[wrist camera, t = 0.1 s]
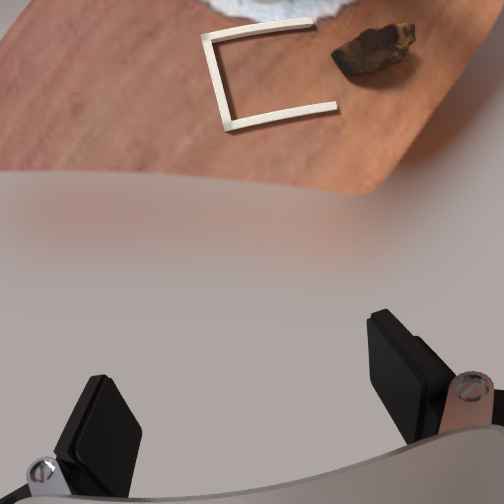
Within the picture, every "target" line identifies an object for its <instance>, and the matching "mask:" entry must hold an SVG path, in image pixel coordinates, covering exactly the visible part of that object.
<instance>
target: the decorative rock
mask: <svg viewBox="0 0 504 504" xmlns="http://www.w3.org/2000/svg"><path fill="white" fill-rule="evenodd" d="M415 41H416V38H415V25H414V24H413V23H400V24H396V23H392V24H389V25H387V26H385V27H383V28H380V29H379V28H369V29H367V30H365V31H363V32H362V33H360V35H359V36H358V37H356V38H354V39H353V40H352V41H349V42H347V43H346V44H344V45H342V46H341V47H339V48H337V49H336V50H334V51H333V52H332V53H331V56H332V58H333V59H334V61H335V63H336V64H337V65H338V66H339V67H340V69H341V71H342V72H343V74H344V75H360V74H366V73H368V74H369V73H373V72H375V71H380V70H384V69H386V68H388V67H390V66H392V65H395V64H398V63H400V62H403V61H405V60H407V56H408V48H409V46H410V45H411V44H412V43H413V42H415Z"/></svg>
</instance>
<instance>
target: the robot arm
mask: <svg viewBox="0 0 504 504" xmlns="http://www.w3.org/2000/svg"><path fill="white" fill-rule="evenodd" d="M367 334H368V350H369V368H370V380H371V383H372V385H373V387H374V389H375V391H376V392H377V394H378V396H379V397H380V399H381V401H382V402H383V404H384V406H385V407H386V409H387V411H388V412H389V414H390V416H391V417H392V419H393V421H394V423H395V424H396V426H397V428H398V430H399V431H400V433H401V435H402V437H403V438H404V440H405V442H406V444H407V446H404V447H401V448H399V449H396V450H393V451H391V452H388V453H385V454H383V455H380V456H377V457H374V458H371V459H369V460H366V461H362V462H359V463H356V464H353V465H350V466H347V467H343V468H340V469H337V470H334V471H330V472H327V473H323V474H319V475H316V476H311V477H308V478H303V479H300V480H295V481H291V482H286V483H281V484H276V485H271V486H266V487H260V488H255V489H249V490H242V491H235V492H228V493H220V494H210V495H200V496H187V497H167V498H128V496H129V491H130V486H131V481H132V477H133V473H134V468H135V463H136V459H137V455H138V450H139V446H140V441H141V438H142V429H141V427H140V425H139V423H138V422H137V420H136V419H135V417H134V415H133V414H132V412H131V411H130V409H129V407H128V405H127V404H126V402H125V400H124V399H123V397H122V396H121V394H120V392H119V390H118V388H117V387H116V385H115V383H114V381H113V380H112V379H111V378H108V376H106V375H97V376H91V377H90V379H89V381H88V382H87V384H86V386H85V388H84V390H83V392H82V394H81V396H80V398H79V400H78V402H77V404H76V406H75V408H74V410H73V412H72V414H71V416H70V418H69V420H68V422H67V424H66V426H65V428H64V430H63V432H62V434H61V436H60V439H59V441H58V443H57V445H56V447H55V449H54V451H53V452H54V453H55V454H56V455H57V457H56V459H54V458H52V457H42V458H39V459H37V460H36V461H34V462H33V463H32V464H31V465H30V467H29V468H28V470H27V474H26V475H27V482H28V483H27V484H25V485H24V486H22V487H20V488H19V489H17V490H15V491H14V492H12V493H10V494H8V495H7V496H5V497H3V498H1V499H0V504H504V390H497V389H494V384H493V382H492V380H491V379H490V378H489V377H488V376H487V375H485V374H483V373H481V372H475V371H472V372H465V373H461V374H459V375H458V376H456V375H455V373H453V371H452V370H451V369H450V368H449V367H448V366H447V365H446V364H445V363H444V362H443V361H442V360H441V359H440V358H439V356H438V355H437V354H436V353H435V352H434V351H433V350H432V349H431V348H430V347H429V346H428V345H427V344H426V343H425V342H424V341H423V340H422V339H421V338H420V337H419V336H413V335H412V334H411V333H410V332H409V331H408V330H407V329H406V328H405V327H404V326H403V324H402V323H401V322H400V321H399V320H398V319H397V318H396V317H395V316H394V315H393V314H392V313H391V312H390V311H389V310H388V309H383V310H380V311H377V312H374V313H372V314H371V318H369V319H367Z"/></svg>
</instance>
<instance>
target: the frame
mask: <svg viewBox="0 0 504 504" xmlns="http://www.w3.org/2000/svg"><path fill="white" fill-rule="evenodd" d="M312 24H313V22H312V19H311V17H307V18H296V19H287V20H279V21H271V22H264V23H258V24H251V25H246V26H240V27H235V28H230V29H225V30H220V31H215V32H211V33H207V34H203V35H201V39H202V43H203V47H204V50H205V54H206V58H207V62H208V66H209V70H210V74H211V78H212V82H213V86H214V90H215V94H216V98H217V102H218V106H219V110H220V114H221V118H222V122H223V126H224V130H225V132H228V131H232V130H236V129H240V128H244V127H249V126H253V125H258V124H262V123H267V122H272V121H277V120H282V119H287V118H292V117H297V116H303V115H309V114H314V113H320V112H327V111H333V110H336V109H337V105H336V101H334V102H327V103H320V104H314V105H308V106H302V107H296V108H291V109H285V110H280V111H275V112H270V113H265V114H260V115H256V116H251V117H247V118H242V119H238V120H234V121H231V117H230V113H229V110H228V106H227V102H226V98H225V94H224V90H223V86H222V82H221V78H220V74H219V70H218V66H217V63H216V59H215V55H214V51H213V47H212V43H216V42H220V41H225V40H230V39H235V38H240V37H245V36H251V35H256V34H263V33H269V32H276V31H283V30H291V29H300V28H310V27H311V26H312Z"/></svg>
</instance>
